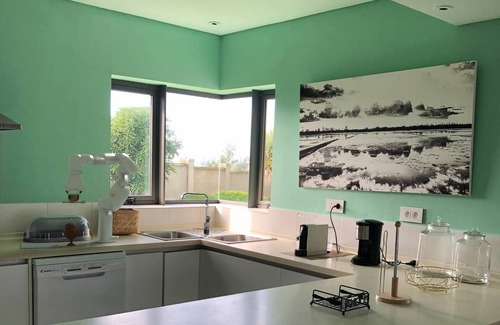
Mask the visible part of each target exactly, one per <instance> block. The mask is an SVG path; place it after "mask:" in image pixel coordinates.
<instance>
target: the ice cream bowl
mask: <svg viewBox="0 0 500 325" xmlns="http://www.w3.org/2000/svg"><path fill="white" fill-rule="evenodd" d="M64 228H65V230H63V231H62V233H63V236H64V237H65V238H66V239H68V240H69V243H67V244H66V246H67V247H75V246H76V244H75V243H74V242H73V241H74V240H75V239H76V238H78V237H79V236H80V233H81V230H79V227H78V226H77V225H75V224H74V223H73V222H69V223H66V224H65V226H64Z"/></svg>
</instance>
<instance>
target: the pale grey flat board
mask: <svg viewBox="0 0 500 325" xmlns="http://www.w3.org/2000/svg"><path fill="white" fill-rule="evenodd" d="M59 248H60V247H59V243H58V242H34V243H33V242H30V243H29V242H27V243H25V242H22V243H21V244H20V249H21V250H22V249H25V250H26V249H27V250H28V249H59Z"/></svg>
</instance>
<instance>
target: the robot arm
mask: <svg viewBox="0 0 500 325" xmlns="http://www.w3.org/2000/svg"><path fill="white" fill-rule="evenodd" d="M115 165H117V166H118V167H117V179H116V181H115V182H114V183H113V184H112V186H111V187H110V188H109V190H108V191H107V192H108V193H107V194H108V196H101V197H100V198H99V199H98V202H97V208H98V222H97V223H98V225H97V239H94V241H95V242H96V243H103V244H105V243H108V244H109V243H114V241H115V240H119V235H113V219H114V218H113V216H114V215H113V212H117V211H119V209H121V208H122V206H123V205H124V204H125V203H126V201H127V199H128V198H129V196H130V189H129V188H128V185H129V181H130V180H129V176H135V175H137V173H138V172H139V171H138V170H139V168H138V165H137V164H136V163H135V162H134V161H133V160H132V158H131V157H130V156H129V155H127V154H126V153H123V152H105V153H104V152H100V153H81V154H79V153H78V154H77V153H71V154H69V157H68V174H66V181H65V186H63V188H62V191H63V192H65V193H66V194H68V197H67V199H68V200H69V201H70V199H71V195H70V194H71V191H76V194H77V201H78V200H80V195H81V193H83V192H85V191H86V189H85V188H84V186H83V175H82V174H84V171H82V166H87V167H88V166H115Z"/></svg>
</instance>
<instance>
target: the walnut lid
mask: <svg viewBox="0 0 500 325" xmlns="http://www.w3.org/2000/svg"><path fill="white" fill-rule="evenodd" d="M70 195H71V199H70V201H69V199H68V200H67V199H62V200H61V203H62V204H86V201H85V200H83V199H82V200H80V199H79V200H78V201H77V193H70Z"/></svg>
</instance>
